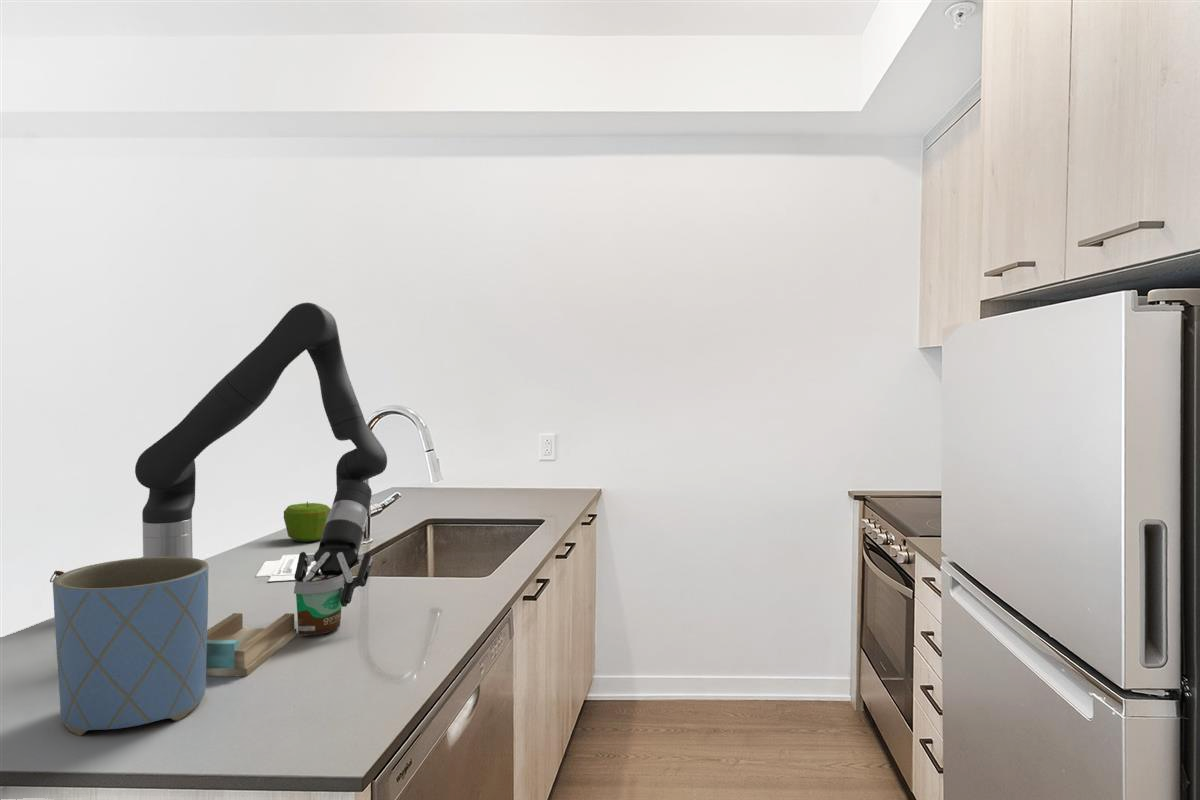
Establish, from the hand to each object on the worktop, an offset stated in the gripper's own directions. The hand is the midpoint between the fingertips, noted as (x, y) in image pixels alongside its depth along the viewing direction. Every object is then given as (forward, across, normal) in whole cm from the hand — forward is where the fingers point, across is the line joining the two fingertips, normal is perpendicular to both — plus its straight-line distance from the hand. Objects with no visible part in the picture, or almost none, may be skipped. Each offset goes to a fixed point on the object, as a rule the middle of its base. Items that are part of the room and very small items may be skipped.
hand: (323, 604), depth 147 cm
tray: (-31, -23, +41) cm, 57 cm away
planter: (+28, -15, -20) cm, 37 cm away
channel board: (+11, -11, -4) cm, 16 cm away
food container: (+3, 0, +5) cm, 5 cm away
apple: (-54, -34, +64) cm, 91 cm away
